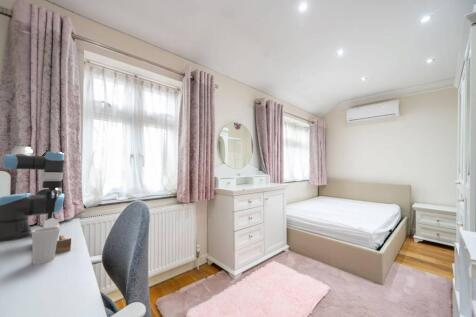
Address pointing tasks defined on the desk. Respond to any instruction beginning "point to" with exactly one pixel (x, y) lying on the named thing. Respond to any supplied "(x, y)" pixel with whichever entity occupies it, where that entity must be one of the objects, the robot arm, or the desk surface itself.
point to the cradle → (63, 244)
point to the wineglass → (51, 223)
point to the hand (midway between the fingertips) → (48, 225)
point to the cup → (44, 244)
